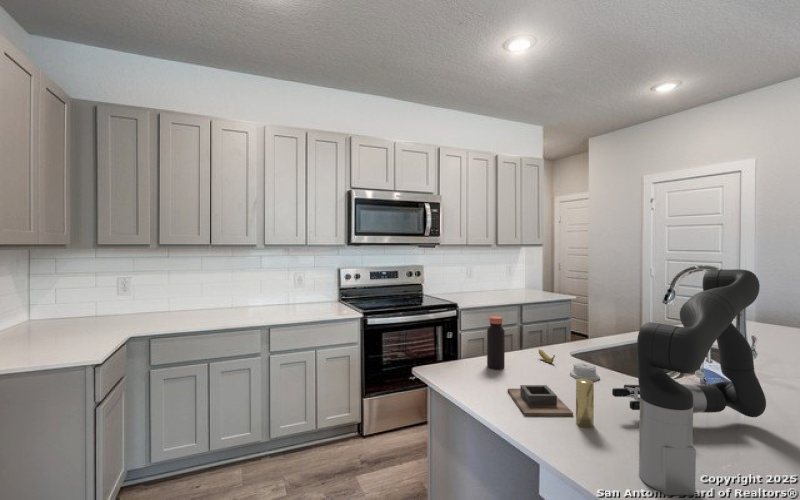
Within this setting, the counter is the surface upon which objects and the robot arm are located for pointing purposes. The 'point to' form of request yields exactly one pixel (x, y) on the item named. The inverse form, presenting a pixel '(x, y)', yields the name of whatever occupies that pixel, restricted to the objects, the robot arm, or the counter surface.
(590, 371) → the mechanical component
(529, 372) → the counter surface
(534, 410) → the mounting plate
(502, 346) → the bottle
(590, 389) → the post
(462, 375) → the counter surface
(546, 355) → the banana
